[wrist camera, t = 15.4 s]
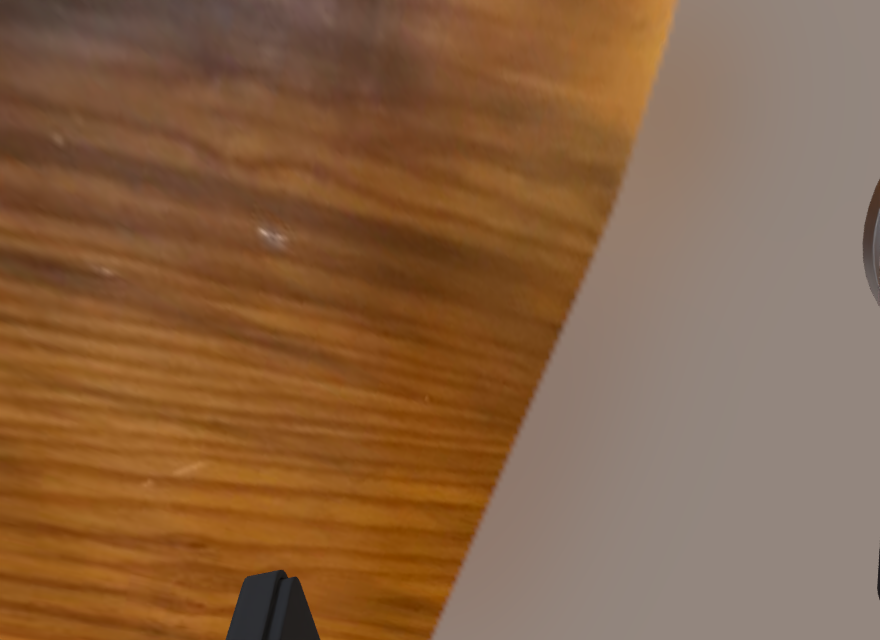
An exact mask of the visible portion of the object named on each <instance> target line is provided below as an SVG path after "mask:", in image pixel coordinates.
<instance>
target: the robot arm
mask: <svg viewBox="0 0 880 640" xmlns="http://www.w3.org/2000/svg"><path fill="white" fill-rule="evenodd" d="M877 589H878V595H879V599H880V551H879V568H878V586H877ZM226 640H320V638H319V635H318V632H317V629H316V626H315V624H314V621H313V618H312V615H311V612H310V609H309V606H308V604H307V601H306V598H305V595H304V592H303V589H302V586H301V583H300V581H299V579H298V578H297V577H292V578H288V577H287V575H286V573H285V572H284V571H283V570H278V571H273V572H268V573H263V574H258V575H253V576H248V577H247V578H245V580H244V582H243V585H242V588H241V591H240V594H239V598H238V601H237V604H236V608H235V611H234V614H233V617H232V621H231V624H230V627H229V630H228V634H227V637H226Z"/></svg>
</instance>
